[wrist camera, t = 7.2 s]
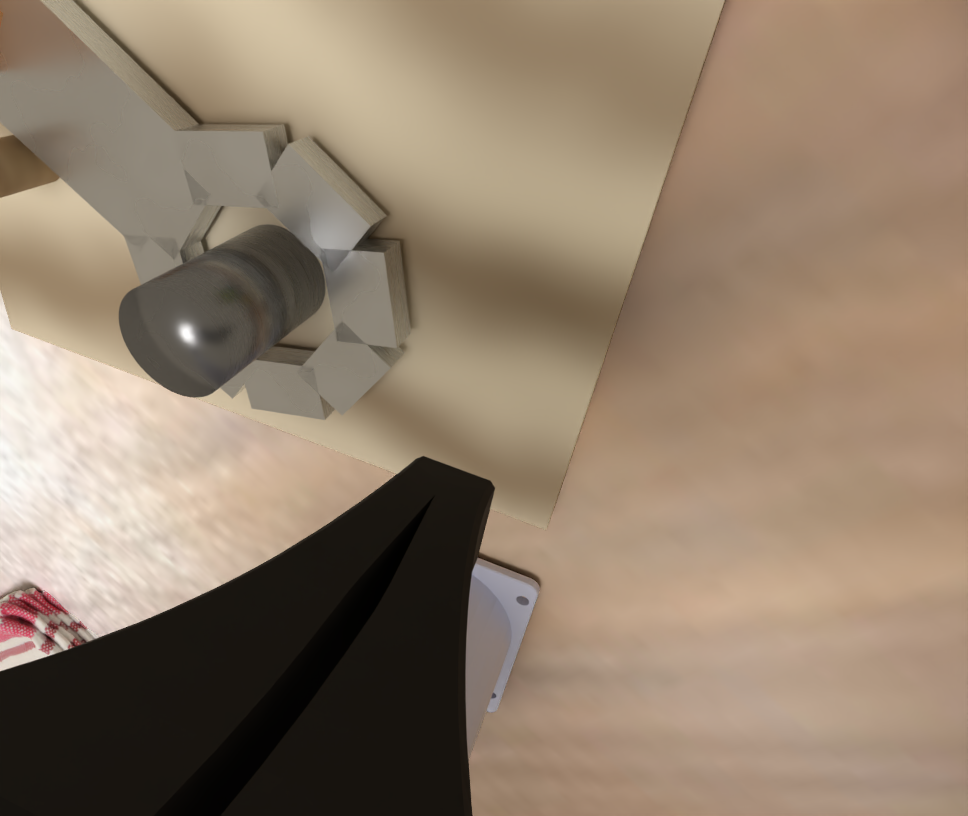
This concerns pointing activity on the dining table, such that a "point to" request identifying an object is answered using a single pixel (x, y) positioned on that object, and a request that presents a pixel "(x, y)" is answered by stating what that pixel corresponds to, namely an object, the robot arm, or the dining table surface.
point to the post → (221, 309)
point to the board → (417, 201)
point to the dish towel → (36, 628)
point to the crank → (203, 194)
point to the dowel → (21, 168)
